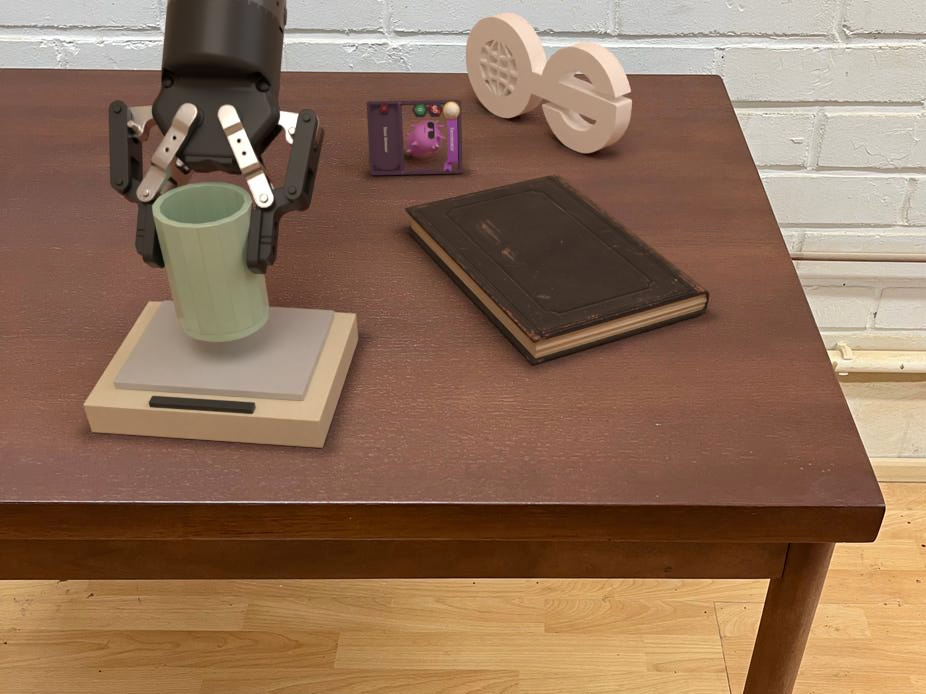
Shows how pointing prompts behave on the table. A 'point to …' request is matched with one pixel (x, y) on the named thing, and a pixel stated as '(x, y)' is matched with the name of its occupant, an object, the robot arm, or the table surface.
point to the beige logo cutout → (548, 82)
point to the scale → (227, 379)
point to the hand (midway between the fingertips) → (205, 267)
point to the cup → (210, 260)
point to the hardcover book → (553, 267)
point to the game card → (412, 135)
